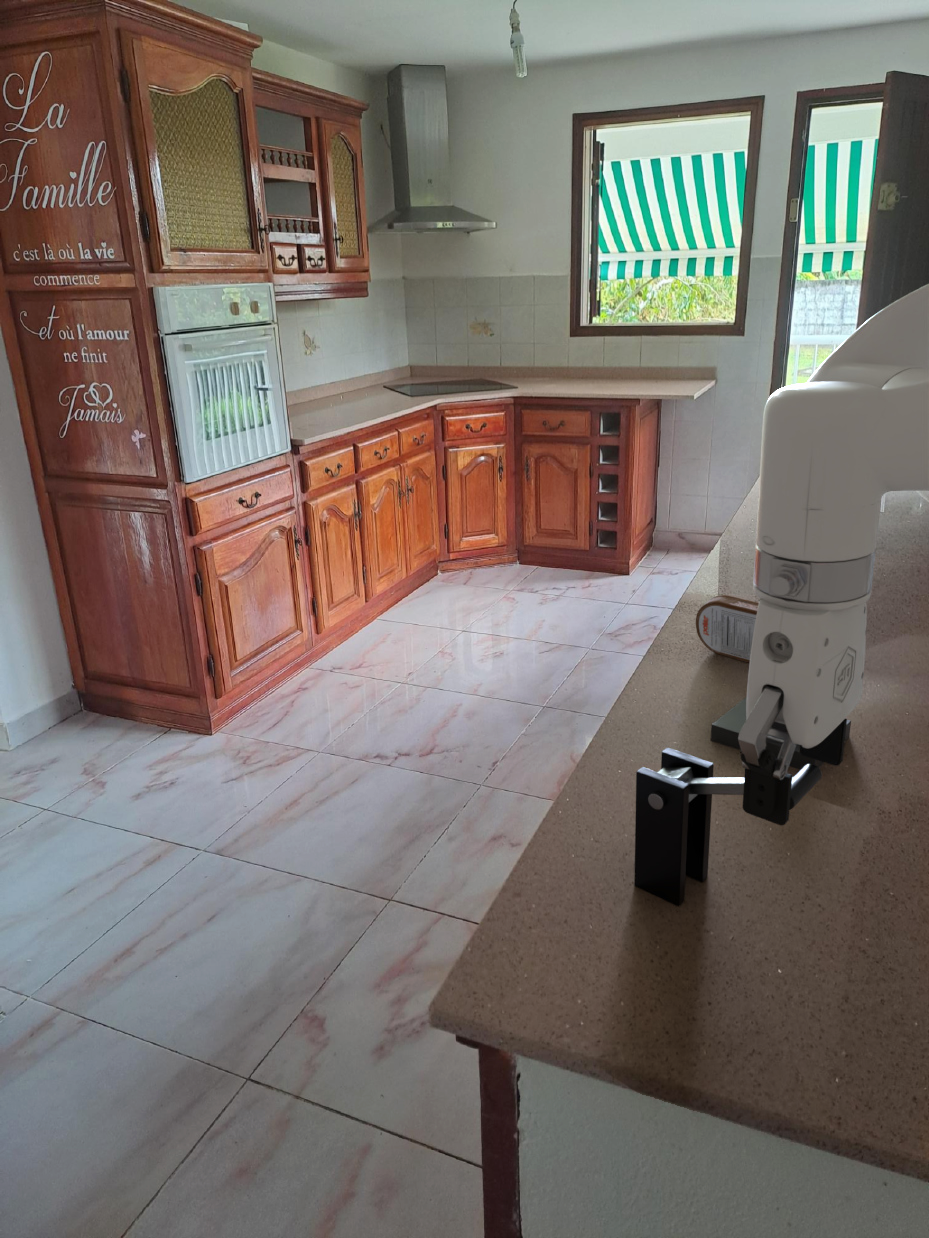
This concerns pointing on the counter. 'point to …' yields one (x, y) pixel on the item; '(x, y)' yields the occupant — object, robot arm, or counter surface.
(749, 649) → the tin
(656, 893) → the bracket
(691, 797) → the lever
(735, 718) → the control block
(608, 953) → the counter surface
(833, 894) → the counter surface
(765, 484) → the robot arm
